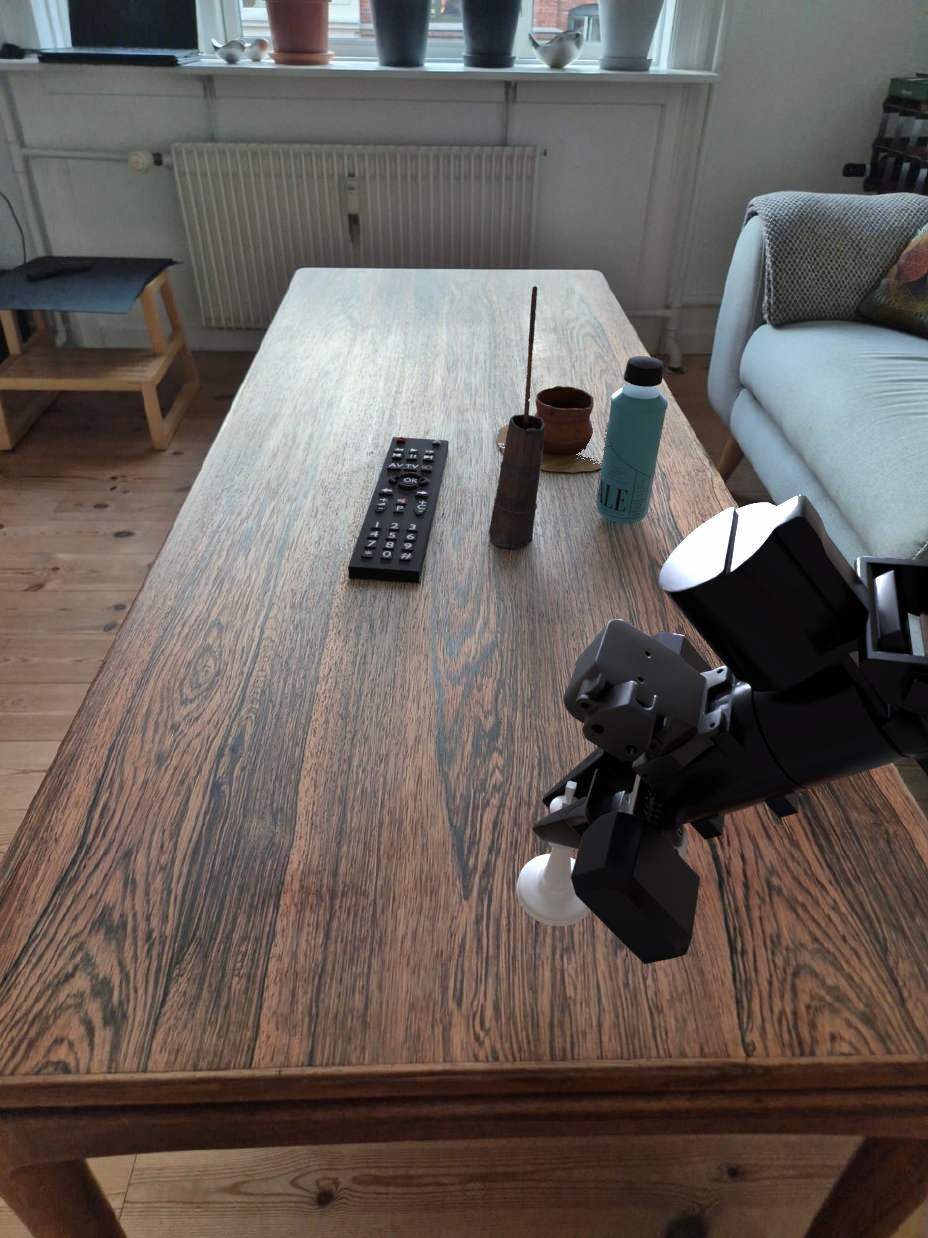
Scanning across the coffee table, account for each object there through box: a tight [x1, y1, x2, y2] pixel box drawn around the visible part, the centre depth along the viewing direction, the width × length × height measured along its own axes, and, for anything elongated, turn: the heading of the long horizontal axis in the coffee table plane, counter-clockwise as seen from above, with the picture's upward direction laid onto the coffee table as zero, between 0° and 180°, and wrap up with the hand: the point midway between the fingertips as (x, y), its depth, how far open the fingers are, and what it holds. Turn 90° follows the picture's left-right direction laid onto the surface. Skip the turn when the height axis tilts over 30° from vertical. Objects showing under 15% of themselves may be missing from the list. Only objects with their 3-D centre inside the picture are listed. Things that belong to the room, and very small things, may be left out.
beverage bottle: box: [595, 355, 669, 524], centre depth 96 cm, size 6×7×20 cm
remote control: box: [347, 436, 449, 584], centre depth 102 cm, size 8×32×2 cm, turn 175°
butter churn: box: [488, 285, 545, 550], centre depth 89 cm, size 9×10×28 cm
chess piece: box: [515, 781, 592, 927], centre depth 50 cm, size 5×5×10 cm
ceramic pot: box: [495, 385, 603, 474], centre depth 116 cm, size 18×18×7 cm
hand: (542, 818), depth 49 cm, fingers closed on chess piece
